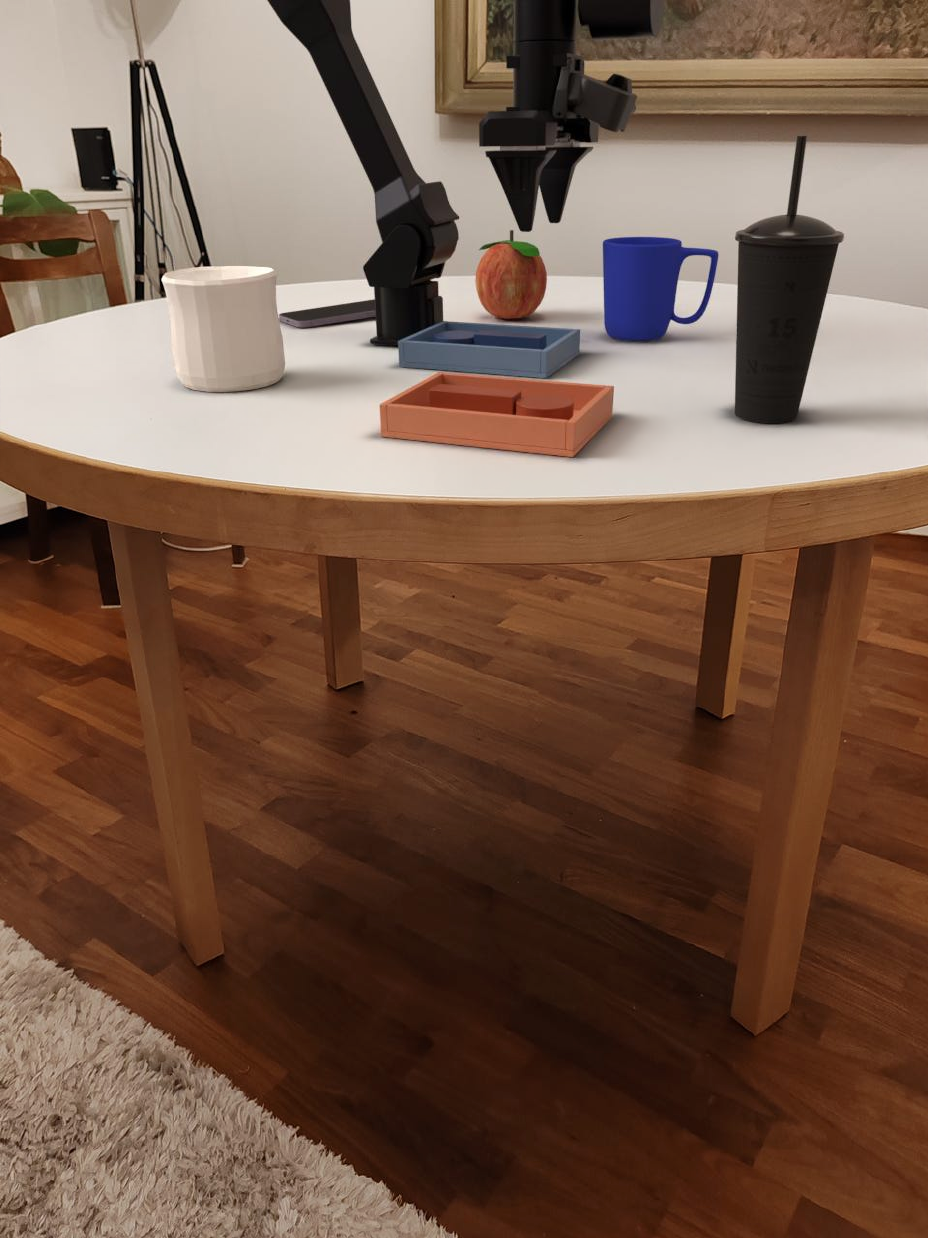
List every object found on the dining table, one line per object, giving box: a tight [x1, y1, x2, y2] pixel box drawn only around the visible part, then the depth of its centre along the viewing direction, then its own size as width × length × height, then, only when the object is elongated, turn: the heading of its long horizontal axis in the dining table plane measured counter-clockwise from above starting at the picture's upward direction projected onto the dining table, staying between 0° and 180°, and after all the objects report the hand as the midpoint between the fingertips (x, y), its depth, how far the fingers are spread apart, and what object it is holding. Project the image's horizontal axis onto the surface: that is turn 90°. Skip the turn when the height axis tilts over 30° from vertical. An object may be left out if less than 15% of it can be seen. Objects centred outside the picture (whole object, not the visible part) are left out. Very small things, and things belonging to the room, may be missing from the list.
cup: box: [160, 265, 286, 393], centre depth 87 cm, size 10×10×10 cm
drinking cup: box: [734, 135, 845, 424], centre depth 72 cm, size 8×8×20 cm
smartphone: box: [278, 298, 376, 328], centre depth 118 cm, size 7×1×15 cm
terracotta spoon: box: [429, 384, 574, 421], centre depth 74 cm, size 11×4×2 cm, turn 68°
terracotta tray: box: [379, 371, 615, 458], centre depth 74 cm, size 15×11×2 cm
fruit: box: [474, 229, 548, 320], centre depth 114 cm, size 9×10×10 cm
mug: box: [602, 236, 719, 343], centre depth 102 cm, size 8×12×10 cm
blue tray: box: [397, 320, 581, 379], centre depth 95 cm, size 15×11×2 cm
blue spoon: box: [435, 330, 547, 350], centre depth 95 cm, size 11×4×2 cm, turn 68°
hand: (540, 226), depth 94 cm, fingers open, 9 cm apart
